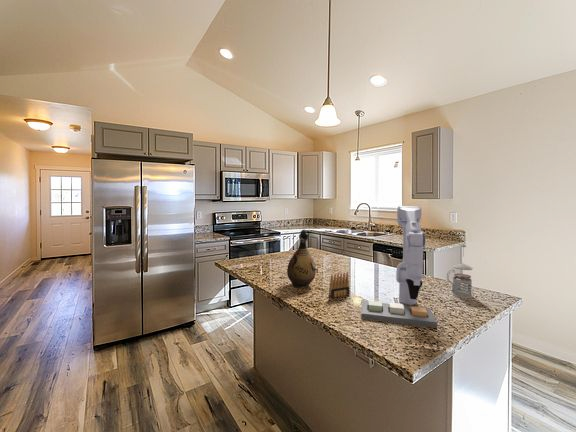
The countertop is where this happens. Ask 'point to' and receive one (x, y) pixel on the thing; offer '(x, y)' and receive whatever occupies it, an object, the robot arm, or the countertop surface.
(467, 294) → the french press
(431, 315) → the keypad
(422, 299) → the countertop surface
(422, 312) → the orange key
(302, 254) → the ceramic jug
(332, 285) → the ammunition clip
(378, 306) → the sage key
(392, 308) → the white key
